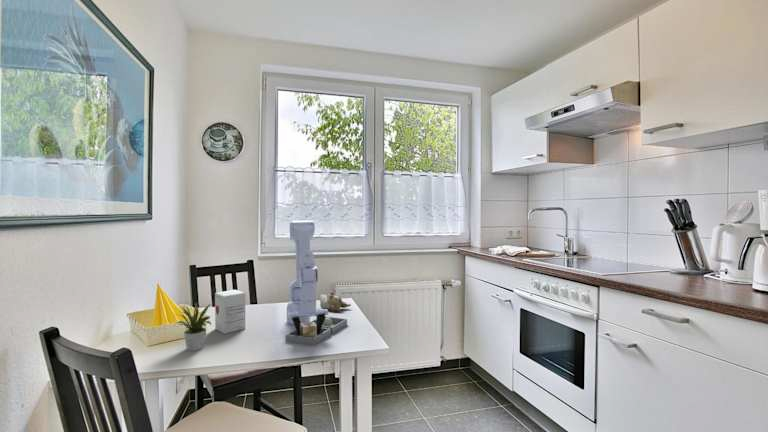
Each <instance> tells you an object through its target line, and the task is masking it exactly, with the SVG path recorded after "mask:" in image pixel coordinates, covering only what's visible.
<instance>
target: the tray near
mask: <svg viewBox="0 0 768 432" xmlns="http://www.w3.org/2000/svg"><path fill="white" fill-rule="evenodd" d="M331 335H332V334H331V329H329V328H322V327H321V331H320V334H319V335H317V336H316V337H314V338H309V337H302V336H301V326H300V336H297V331H296V329H293V330H292V331H290V332H289V333H286V334H285V335H284V336H285V338H284V339H285V341H284V342H288V343H293V344H300V345H306V346H312V347H314V346H316V345H317V344H319V343H320V342H322V341H324V340H325V339H326V338H328V337H330V336H331Z"/></svg>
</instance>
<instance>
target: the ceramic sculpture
mask: <svg viewBox="0 0 768 432" xmlns="http://www.w3.org/2000/svg"><path fill="white" fill-rule="evenodd" d="M319 303H320V304H319V307H320V309H325V308H326V309H328V310H330V311H333V312H334V313H335V312H336V313H337V312H340V311H342V308H348V307H351V306H352V304H350V303H349V304H348V303H347V302H346V301H345V302H344V301H343V300H342V297H341V296H339V295H337V294H335V293H334V292H331V293H328V294H323V293H319Z"/></svg>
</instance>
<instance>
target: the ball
mask: <svg viewBox="0 0 768 432" xmlns="http://www.w3.org/2000/svg"><path fill="white" fill-rule="evenodd" d="M329 317H330V316H327V317H326V318H325V321H324V322H323V326H329V327H330V326H331V325H332V320H331V319H330V318H329Z"/></svg>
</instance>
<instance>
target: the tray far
mask: <svg viewBox="0 0 768 432" xmlns="http://www.w3.org/2000/svg"><path fill="white" fill-rule="evenodd" d="M326 317H329V318H330V319H331V320H332V325H331V326H330V327H329V326H323V325H322V328H329V329H331V335H333V334H335V333H336V332H338V331H340V330H341V329H344V328H345V327H346V326H347V325H348V319H347V318H343V317H342V318H341V317H334V316H328V315H325V318H326ZM311 322H314V323H315V324H316V326H317V318H315V319H313V321H311ZM309 323H310V322H309Z"/></svg>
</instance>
